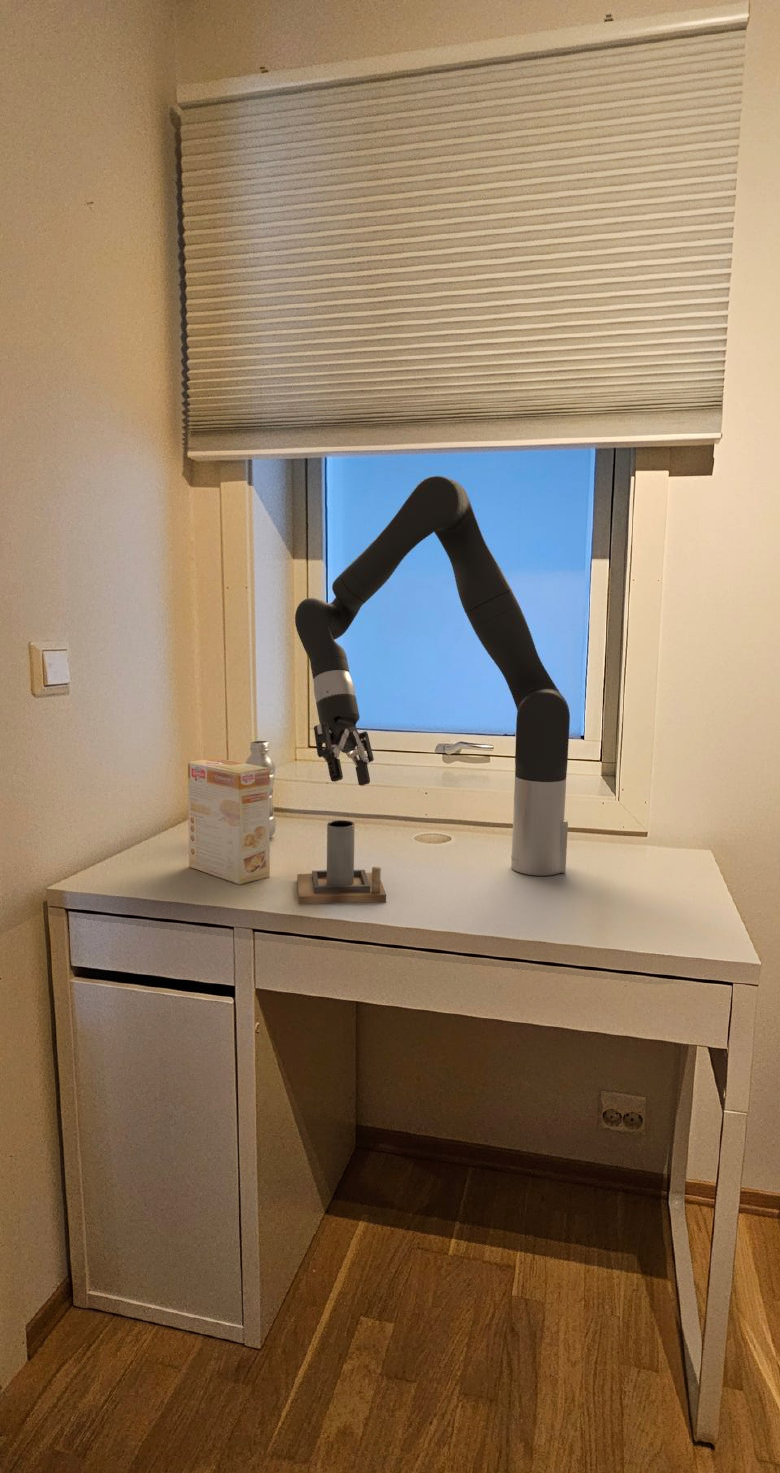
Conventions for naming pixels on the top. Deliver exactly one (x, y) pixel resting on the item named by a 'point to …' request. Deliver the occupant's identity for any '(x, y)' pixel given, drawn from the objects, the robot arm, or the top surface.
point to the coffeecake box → (229, 819)
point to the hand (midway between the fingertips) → (351, 782)
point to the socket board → (341, 888)
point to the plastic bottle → (264, 760)
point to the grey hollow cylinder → (340, 852)
